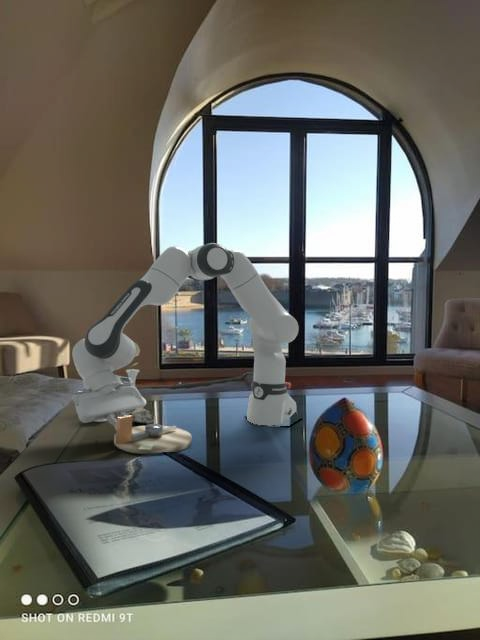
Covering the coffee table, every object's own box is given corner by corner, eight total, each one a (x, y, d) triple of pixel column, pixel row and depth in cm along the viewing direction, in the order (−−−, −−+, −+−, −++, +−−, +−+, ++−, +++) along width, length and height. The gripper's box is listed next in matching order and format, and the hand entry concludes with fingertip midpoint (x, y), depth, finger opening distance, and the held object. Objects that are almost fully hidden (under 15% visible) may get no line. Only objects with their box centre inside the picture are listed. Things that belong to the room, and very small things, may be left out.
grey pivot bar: (169, 427, 138) (170, 404, 138) (181, 431, 135) (182, 408, 135) (111, 441, 122) (113, 416, 122) (123, 446, 119) (124, 420, 118)
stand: (157, 426, 146) (157, 421, 146) (207, 442, 132) (207, 437, 132) (97, 440, 128) (98, 434, 128) (148, 460, 115) (148, 454, 115)
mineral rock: (155, 426, 146) (156, 413, 145) (130, 427, 143) (130, 413, 143) (150, 415, 160) (150, 402, 159) (127, 415, 157) (127, 402, 157)
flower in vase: (152, 407, 170) (156, 341, 169) (130, 412, 161) (133, 342, 159) (128, 401, 177) (131, 338, 176) (105, 406, 167) (108, 339, 166)
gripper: (74, 385, 121) (94, 429, 115) (135, 377, 137) (155, 416, 131) (65, 398, 124) (83, 442, 118) (126, 389, 140) (145, 427, 134)
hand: (122, 428), depth 125 cm, fingers closed
